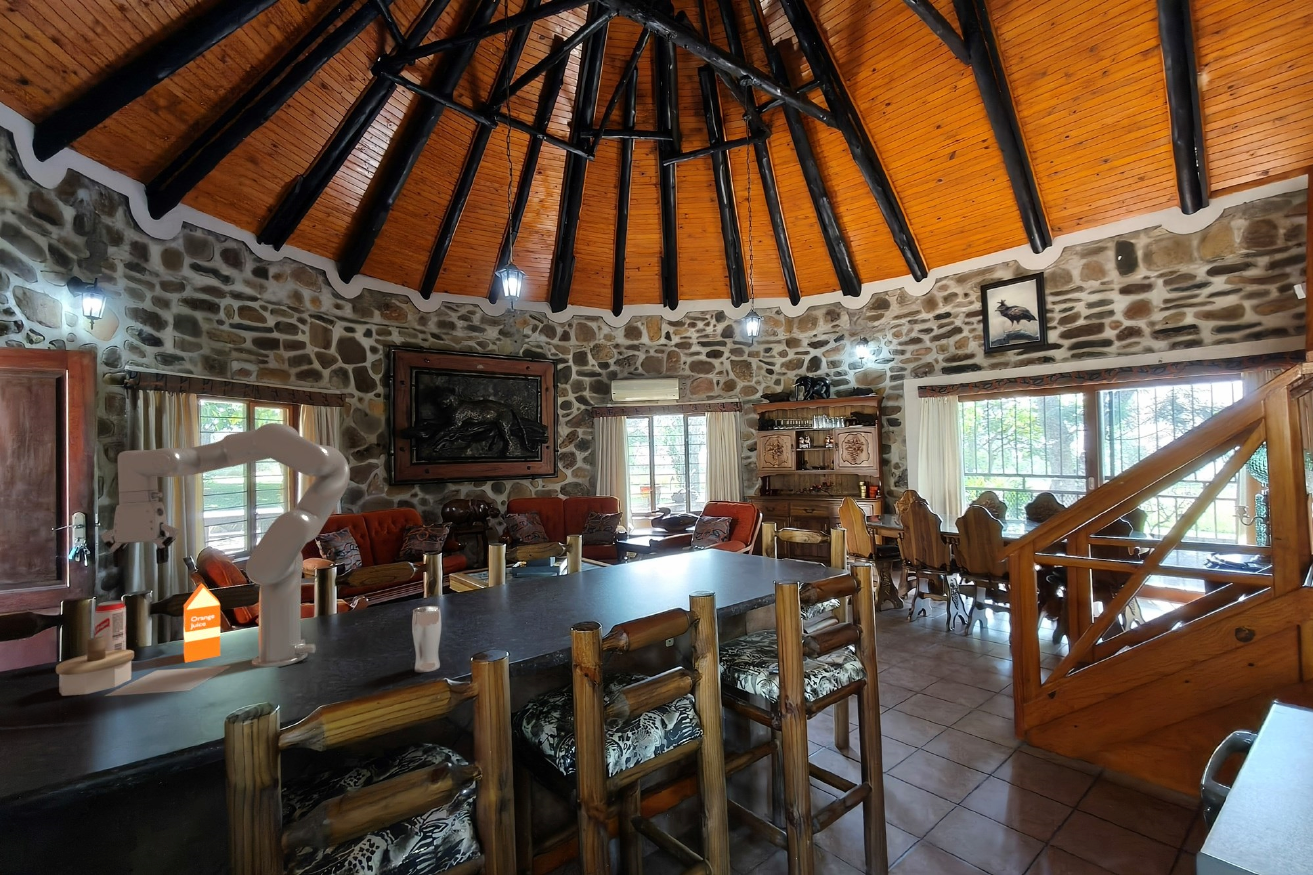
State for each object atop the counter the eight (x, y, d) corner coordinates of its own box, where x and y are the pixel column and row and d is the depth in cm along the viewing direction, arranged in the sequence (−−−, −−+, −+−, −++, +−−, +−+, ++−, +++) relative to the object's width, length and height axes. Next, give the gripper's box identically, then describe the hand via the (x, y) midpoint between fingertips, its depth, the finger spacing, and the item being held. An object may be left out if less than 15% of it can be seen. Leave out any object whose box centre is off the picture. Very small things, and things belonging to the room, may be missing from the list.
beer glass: (447, 665, 149) (447, 607, 150) (426, 674, 143) (426, 613, 144) (427, 661, 152) (427, 604, 153) (406, 671, 146) (405, 611, 146)
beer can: (106, 665, 155) (106, 605, 155) (88, 664, 156) (88, 605, 157) (131, 657, 161) (132, 600, 162) (114, 656, 162) (114, 599, 163)
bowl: (142, 676, 147) (142, 654, 147) (102, 695, 135) (102, 671, 135) (90, 679, 145) (90, 657, 146) (45, 698, 133) (45, 674, 134)
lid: (148, 652, 148) (148, 628, 148) (103, 672, 134) (104, 645, 135) (89, 656, 146) (89, 631, 146) (38, 676, 133) (38, 649, 133)
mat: (231, 668, 151) (231, 665, 151) (188, 693, 135) (188, 690, 135) (156, 672, 149) (156, 670, 149) (104, 698, 133) (104, 695, 133)
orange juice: (184, 664, 154) (184, 589, 155) (183, 656, 161) (183, 584, 162) (221, 657, 160) (221, 584, 160) (218, 649, 166) (218, 580, 167)
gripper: (185, 494, 154) (188, 559, 153) (113, 499, 151) (115, 564, 151) (165, 496, 146) (168, 564, 146) (89, 501, 144) (91, 570, 143)
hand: (141, 564), depth 148 cm, fingers open, 9 cm apart
